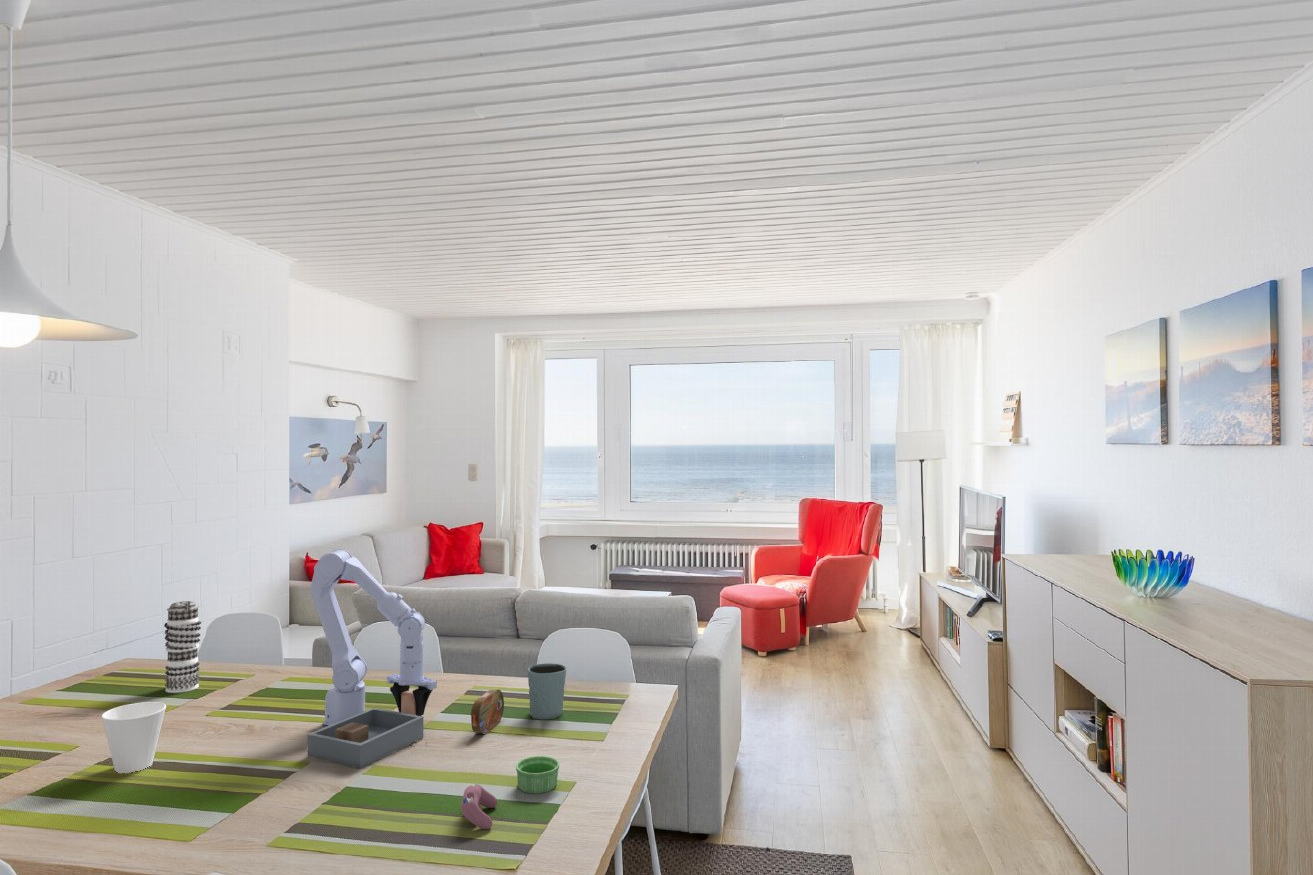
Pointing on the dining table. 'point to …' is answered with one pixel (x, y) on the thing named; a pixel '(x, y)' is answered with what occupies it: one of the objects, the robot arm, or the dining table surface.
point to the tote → (383, 738)
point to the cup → (133, 734)
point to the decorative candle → (182, 647)
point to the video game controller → (477, 805)
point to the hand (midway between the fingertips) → (411, 713)
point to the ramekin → (537, 774)
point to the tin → (487, 711)
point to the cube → (353, 732)
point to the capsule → (408, 703)
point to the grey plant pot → (546, 690)
